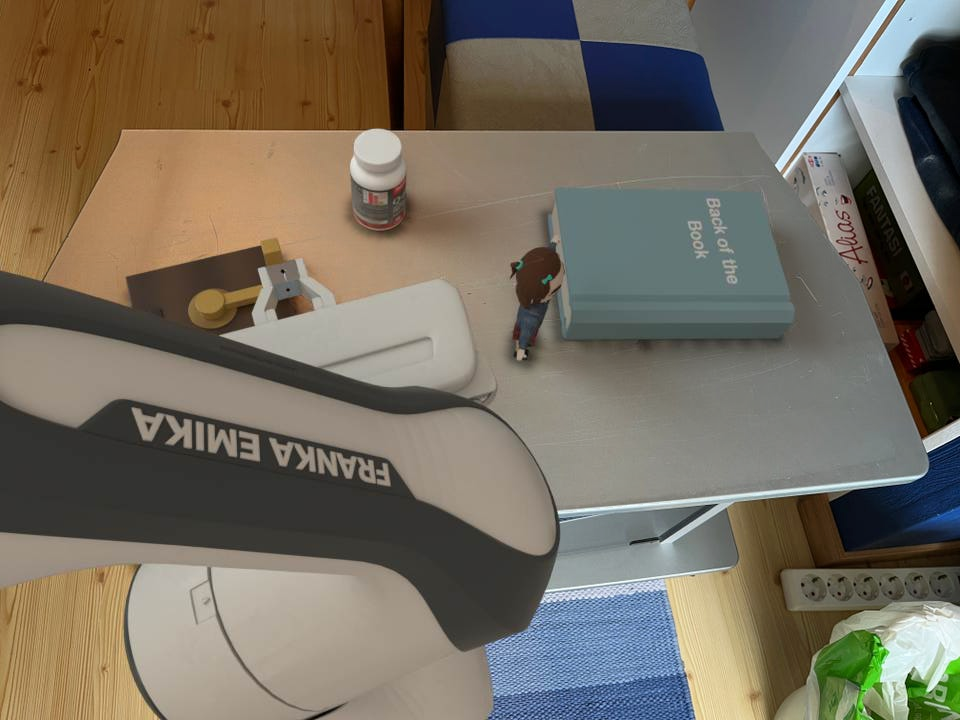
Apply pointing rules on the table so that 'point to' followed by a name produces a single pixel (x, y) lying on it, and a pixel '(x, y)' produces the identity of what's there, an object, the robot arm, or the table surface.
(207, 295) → the tan lever handle
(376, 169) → the pill bottle
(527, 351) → the toy
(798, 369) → the table surface
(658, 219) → the book
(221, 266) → the lock plate
